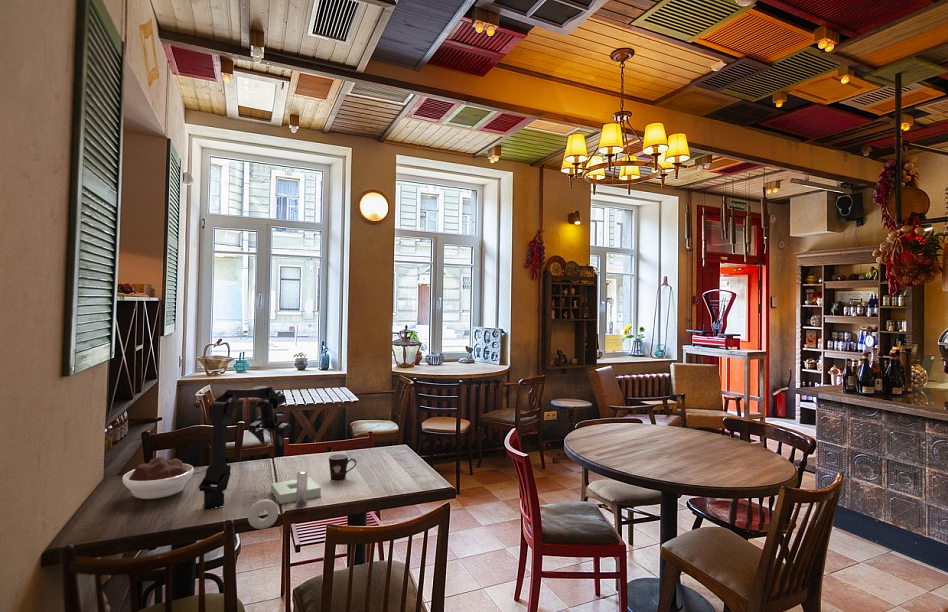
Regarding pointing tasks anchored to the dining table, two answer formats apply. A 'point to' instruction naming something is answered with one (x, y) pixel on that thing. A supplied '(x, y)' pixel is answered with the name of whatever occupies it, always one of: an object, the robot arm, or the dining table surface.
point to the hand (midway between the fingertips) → (272, 444)
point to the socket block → (293, 490)
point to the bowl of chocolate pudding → (158, 478)
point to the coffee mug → (339, 466)
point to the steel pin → (301, 488)
